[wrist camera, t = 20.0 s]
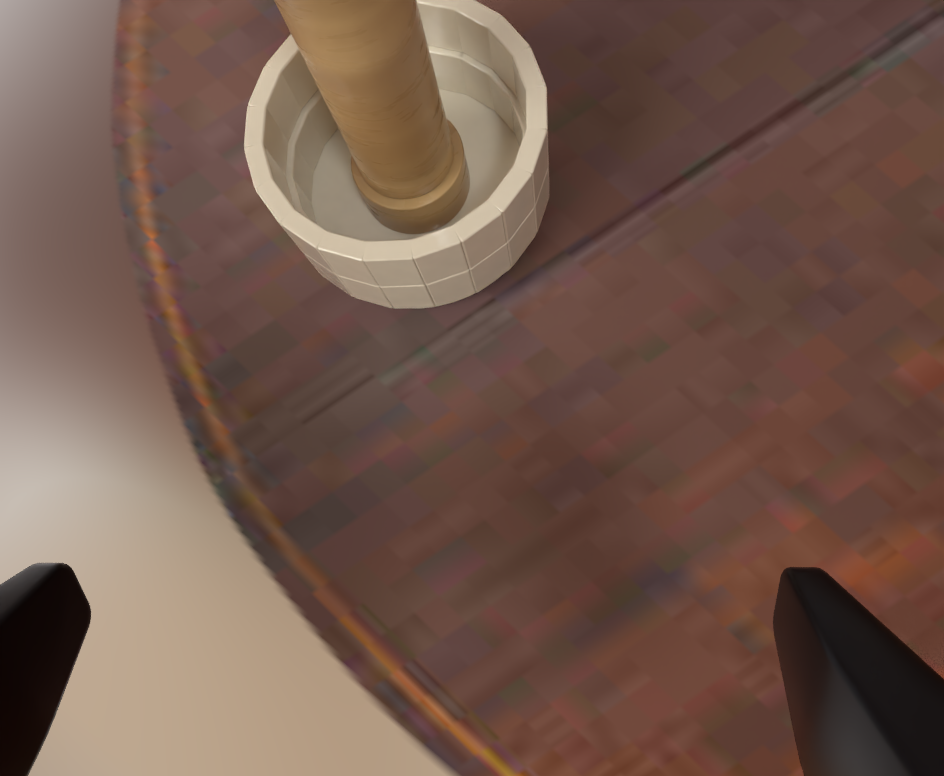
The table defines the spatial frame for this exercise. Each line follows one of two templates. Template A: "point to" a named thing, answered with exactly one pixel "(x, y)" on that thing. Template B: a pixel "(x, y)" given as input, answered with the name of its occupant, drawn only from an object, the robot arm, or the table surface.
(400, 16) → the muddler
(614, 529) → the table surface
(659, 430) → the table surface
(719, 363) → the table surface
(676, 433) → the table surface
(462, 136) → the bowl
